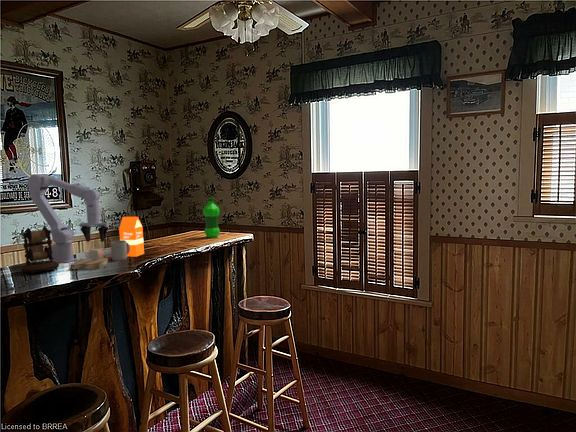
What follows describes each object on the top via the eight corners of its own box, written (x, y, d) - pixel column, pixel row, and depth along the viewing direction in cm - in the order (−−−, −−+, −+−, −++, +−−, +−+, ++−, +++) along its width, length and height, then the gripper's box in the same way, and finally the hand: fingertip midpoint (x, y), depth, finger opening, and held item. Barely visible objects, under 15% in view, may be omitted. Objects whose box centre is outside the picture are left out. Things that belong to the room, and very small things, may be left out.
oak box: (71, 271, 191) (71, 264, 191) (81, 265, 203) (81, 259, 203) (99, 269, 193) (99, 263, 192) (107, 264, 205) (107, 257, 204)
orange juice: (136, 256, 218) (133, 217, 215) (120, 256, 219) (118, 217, 217) (144, 253, 225) (142, 215, 223) (129, 253, 227) (126, 215, 225)
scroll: (51, 265, 202) (47, 223, 199) (64, 270, 192) (61, 226, 190) (16, 272, 190) (11, 227, 188) (28, 277, 181) (24, 230, 179)
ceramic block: (90, 261, 210) (89, 250, 209) (95, 259, 214) (94, 248, 213) (98, 261, 209) (97, 250, 208) (103, 259, 213) (102, 248, 213)
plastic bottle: (201, 238, 268) (199, 198, 265) (209, 235, 278) (207, 197, 275) (215, 238, 265) (214, 198, 262) (223, 236, 275) (221, 197, 272)
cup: (108, 259, 211) (107, 242, 210) (125, 256, 220) (124, 238, 219) (117, 261, 208) (116, 243, 207) (134, 257, 216) (133, 239, 215)
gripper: (74, 215, 206) (76, 242, 207) (102, 214, 204) (104, 243, 205) (83, 213, 213) (85, 240, 214) (110, 213, 211) (112, 240, 212)
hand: (95, 241), depth 210 cm, fingers open, 7 cm apart
